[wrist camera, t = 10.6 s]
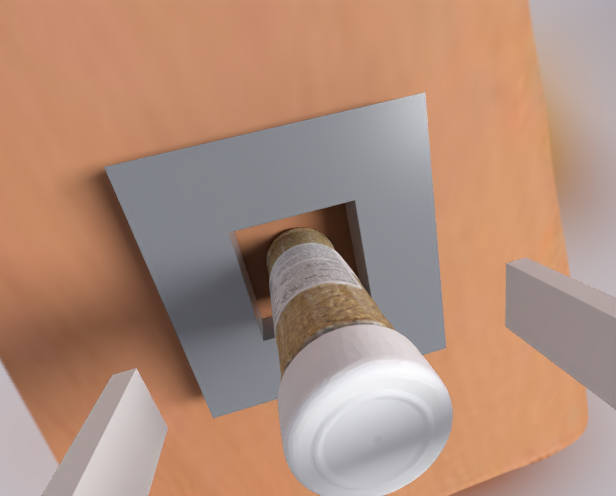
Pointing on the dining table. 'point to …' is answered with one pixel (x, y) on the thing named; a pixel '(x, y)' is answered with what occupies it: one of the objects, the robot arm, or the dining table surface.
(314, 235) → the sprinkles bottle
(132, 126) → the dining table surface
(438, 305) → the socket plate
